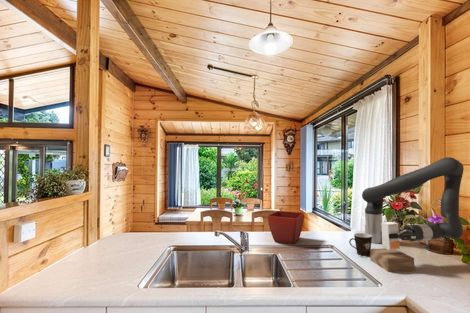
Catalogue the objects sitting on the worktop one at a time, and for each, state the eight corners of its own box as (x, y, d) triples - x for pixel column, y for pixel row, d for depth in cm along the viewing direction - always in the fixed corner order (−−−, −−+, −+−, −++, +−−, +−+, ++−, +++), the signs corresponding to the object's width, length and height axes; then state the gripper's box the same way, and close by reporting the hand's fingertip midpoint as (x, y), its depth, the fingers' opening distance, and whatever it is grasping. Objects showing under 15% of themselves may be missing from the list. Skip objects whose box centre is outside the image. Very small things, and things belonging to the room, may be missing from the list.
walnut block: (370, 261, 130) (370, 249, 130) (394, 260, 130) (393, 248, 131) (388, 272, 116) (387, 259, 116) (414, 271, 117) (413, 258, 117)
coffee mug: (370, 251, 142) (369, 233, 143) (374, 257, 134) (373, 237, 134) (347, 250, 145) (346, 232, 146) (350, 255, 137) (349, 236, 137)
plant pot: (297, 246, 154) (296, 218, 155) (267, 242, 164) (266, 215, 164) (305, 238, 171) (304, 212, 171) (278, 235, 180) (277, 210, 181)
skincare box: (389, 250, 121) (388, 224, 121) (382, 247, 125) (380, 222, 125) (400, 248, 122) (398, 223, 123) (392, 246, 126) (391, 221, 127)
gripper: (406, 221, 132) (375, 223, 131) (430, 228, 118) (395, 230, 116) (407, 236, 132) (375, 238, 130) (431, 244, 118) (396, 247, 116)
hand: (385, 234), depth 123 cm, fingers closed on skincare box, 4 cm apart
